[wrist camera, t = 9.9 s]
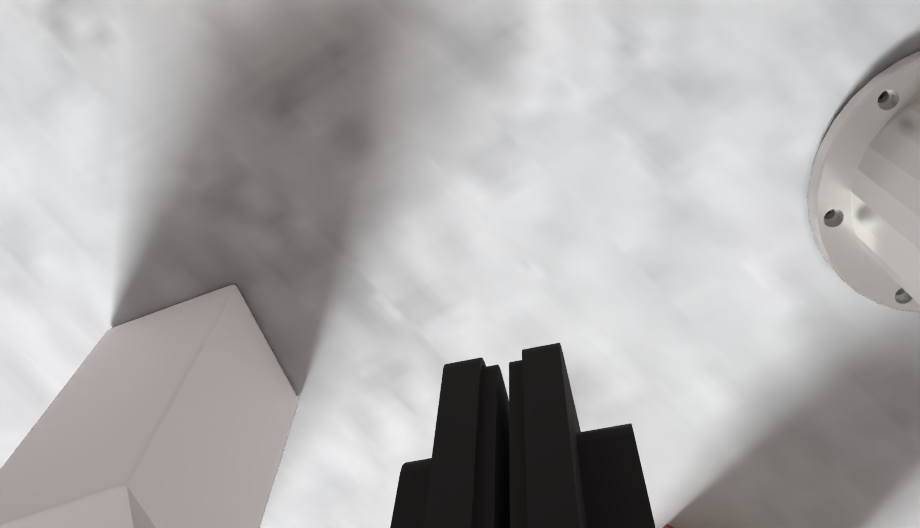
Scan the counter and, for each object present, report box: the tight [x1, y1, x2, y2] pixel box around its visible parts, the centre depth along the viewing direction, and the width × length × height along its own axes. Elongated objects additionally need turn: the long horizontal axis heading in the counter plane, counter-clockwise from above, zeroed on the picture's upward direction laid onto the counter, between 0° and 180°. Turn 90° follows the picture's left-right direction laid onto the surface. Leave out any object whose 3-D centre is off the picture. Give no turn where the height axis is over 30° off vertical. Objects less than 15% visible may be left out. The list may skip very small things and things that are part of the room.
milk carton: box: [0, 285, 299, 528], centre depth 35 cm, size 7×7×19 cm
